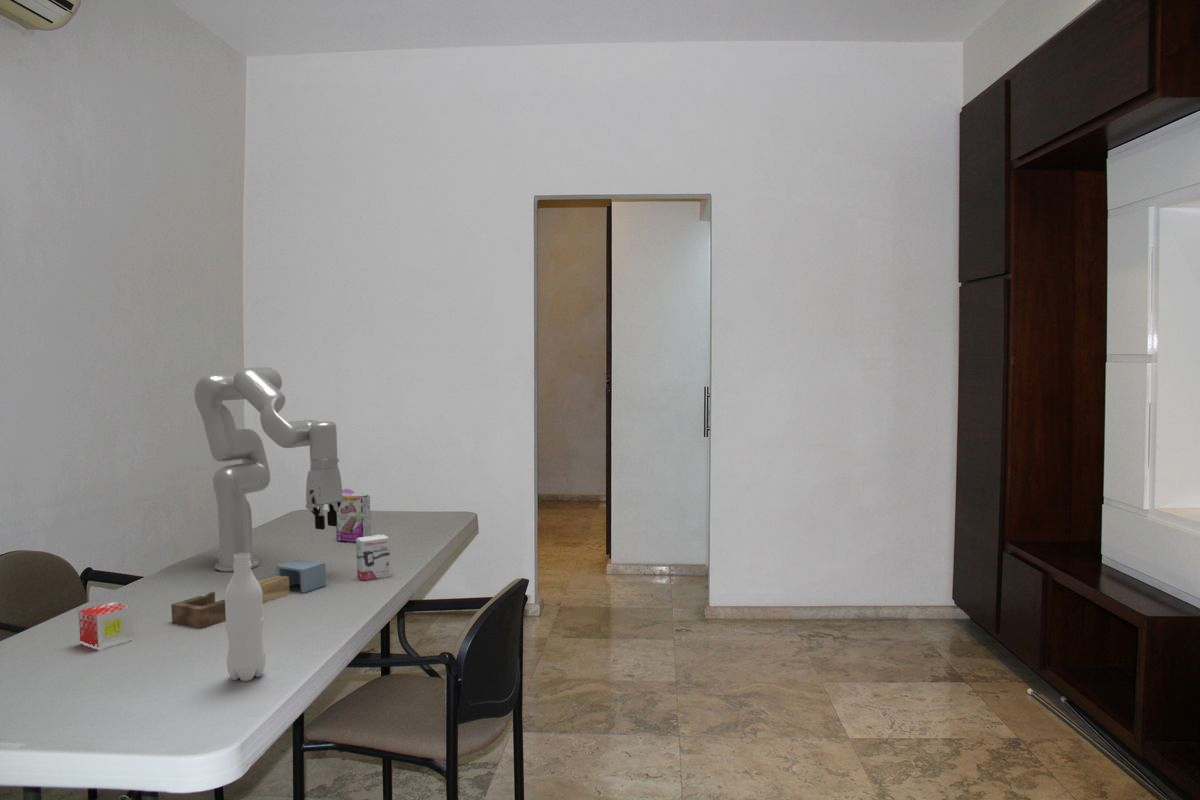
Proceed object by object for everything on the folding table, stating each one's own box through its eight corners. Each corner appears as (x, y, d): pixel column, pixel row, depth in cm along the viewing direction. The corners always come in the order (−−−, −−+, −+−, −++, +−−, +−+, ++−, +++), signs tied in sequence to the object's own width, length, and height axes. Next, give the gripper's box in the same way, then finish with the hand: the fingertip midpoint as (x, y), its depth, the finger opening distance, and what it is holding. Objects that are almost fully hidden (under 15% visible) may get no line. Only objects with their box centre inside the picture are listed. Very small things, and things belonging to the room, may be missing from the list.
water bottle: (234, 671, 175) (229, 551, 174) (270, 669, 176) (265, 549, 174) (222, 684, 168) (216, 559, 166) (259, 682, 168) (254, 558, 167)
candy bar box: (335, 542, 296) (334, 495, 295) (344, 539, 300) (343, 493, 299) (363, 543, 292) (361, 496, 291) (371, 540, 297) (370, 494, 296)
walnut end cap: (170, 622, 208) (169, 604, 208) (213, 608, 219) (212, 591, 219) (203, 628, 203) (203, 610, 203) (245, 614, 214) (244, 596, 213)
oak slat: (230, 609, 219) (229, 590, 219) (279, 593, 233) (278, 575, 233) (241, 611, 217) (240, 592, 217) (289, 594, 231) (289, 576, 231)
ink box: (362, 581, 243) (360, 540, 243) (356, 577, 247) (355, 537, 247) (391, 576, 248) (389, 536, 247) (385, 573, 252) (384, 533, 251)
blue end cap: (276, 588, 236) (276, 565, 236) (299, 581, 244) (298, 559, 243) (304, 592, 232) (303, 569, 231) (326, 585, 239) (325, 562, 238)
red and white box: (98, 651, 189) (96, 616, 188) (80, 645, 193) (78, 610, 193) (134, 640, 196) (132, 606, 195) (115, 635, 200) (114, 601, 199)
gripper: (335, 460, 254) (337, 521, 255) (291, 467, 239) (294, 532, 240) (354, 461, 250) (356, 523, 251) (311, 468, 235) (313, 534, 236)
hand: (326, 526), depth 246 cm, fingers open, 4 cm apart
